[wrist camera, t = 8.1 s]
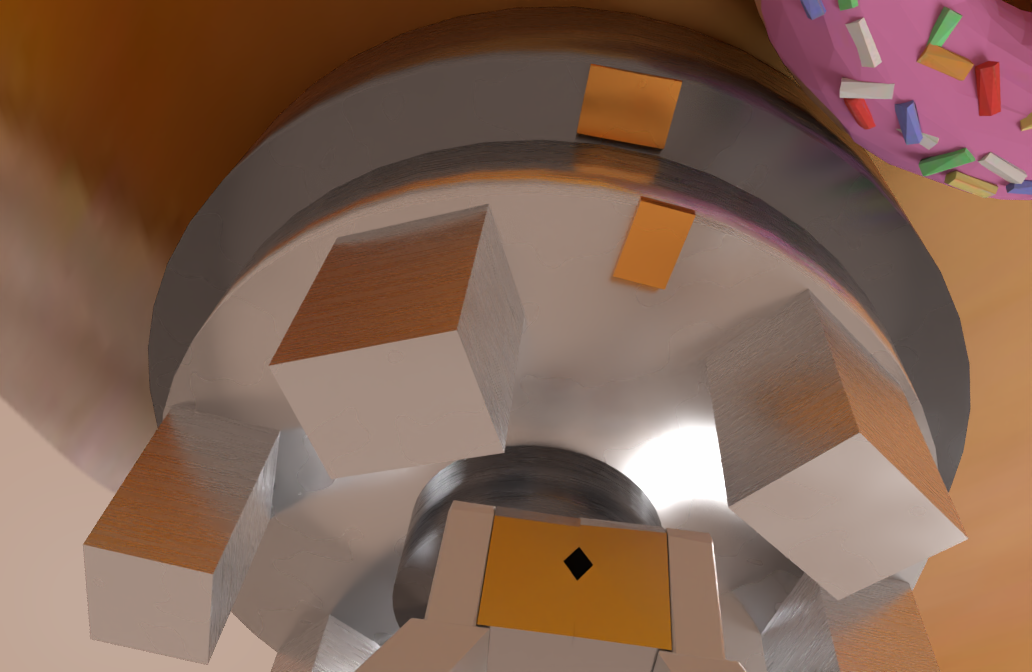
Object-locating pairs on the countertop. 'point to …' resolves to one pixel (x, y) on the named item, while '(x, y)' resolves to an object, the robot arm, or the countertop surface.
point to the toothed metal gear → (530, 414)
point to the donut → (920, 83)
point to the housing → (585, 119)
